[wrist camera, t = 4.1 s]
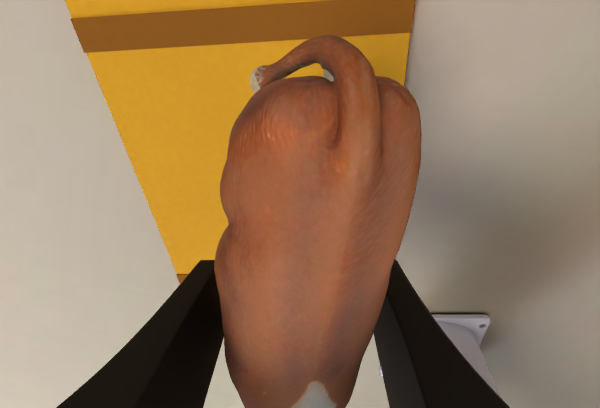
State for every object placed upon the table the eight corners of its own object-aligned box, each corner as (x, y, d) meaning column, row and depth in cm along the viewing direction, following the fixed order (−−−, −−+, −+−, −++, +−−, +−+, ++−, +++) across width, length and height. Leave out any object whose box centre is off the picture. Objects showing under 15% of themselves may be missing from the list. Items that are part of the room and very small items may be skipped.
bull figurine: (207, 319, 16) (185, 562, 9) (236, 0, 9) (234, 36, 2) (294, 319, 17) (332, 536, 10) (380, 34, 10) (671, 129, 3)
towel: (377, 287, 25) (379, 295, 24) (188, 288, 26) (184, 296, 25) (415, -36, 13) (419, -36, 13) (69, -9, 14) (59, -9, 14)
